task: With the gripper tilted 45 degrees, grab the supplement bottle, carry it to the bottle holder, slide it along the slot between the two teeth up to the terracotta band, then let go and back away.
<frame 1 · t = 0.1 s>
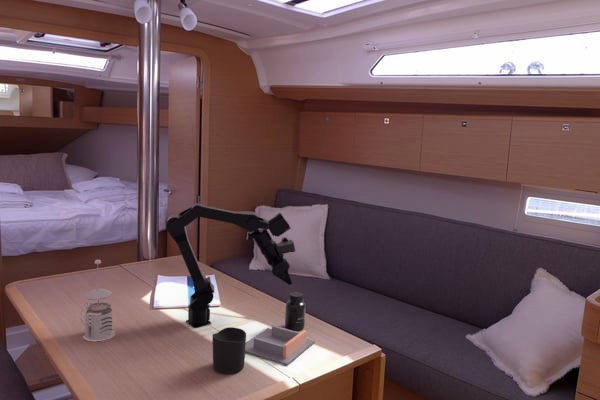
hand: (288, 279, 169), 15 cm above the table, tool tilted 35°, fingers open, 9 cm apart
french press: (97, 337, 152), on the table
pen holder: (228, 368, 136), on the table
bottle holder: (282, 347, 150), on the table
supplement bottle: (294, 328, 165), on the table
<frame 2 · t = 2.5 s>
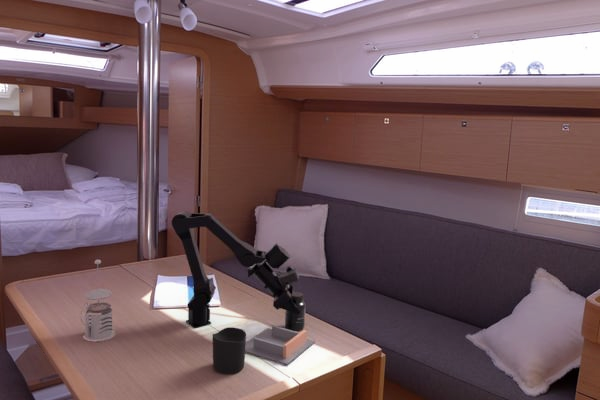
hand: (299, 309, 164), 7 cm above the table, tool tilted 45°, fingers closed on supplement bottle, 7 cm apart
supplement bottle: (294, 328, 165), on the table, touching gripper
everything else where it was.
when the fingers open (8 cm above the table, at t = 9.0 s): supplement bottle drops 1 cm, resting on bottle holder.
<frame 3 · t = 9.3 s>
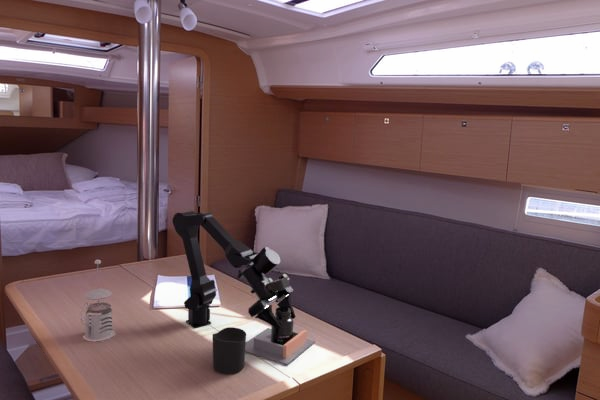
hand: (287, 323, 148), 9 cm above the table, tool tilted 45°, fingers open, 9 cm apart
supplement bottle: (281, 346, 150), resting on bottle holder
everything else where it was.
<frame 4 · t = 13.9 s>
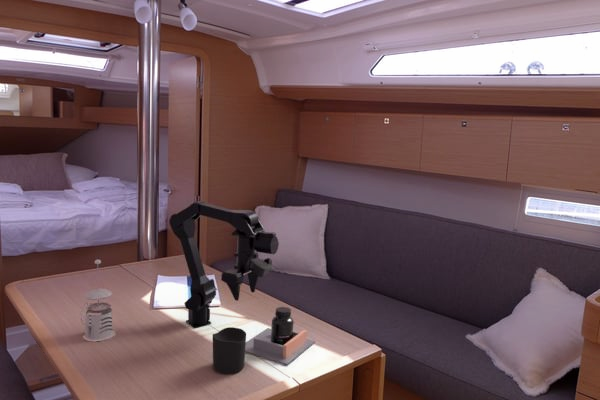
hand: (244, 296, 157), 13 cm above the table, tool pointing down, fingers open, 9 cm apart
nothing on the table moved.
at the end: supplement bottle 0.3 cm off-centre on the bottle holder, point 0.4 cm above the bottle holder's base; supplement bottle tilted 0°; the gripper is holding nothing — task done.
